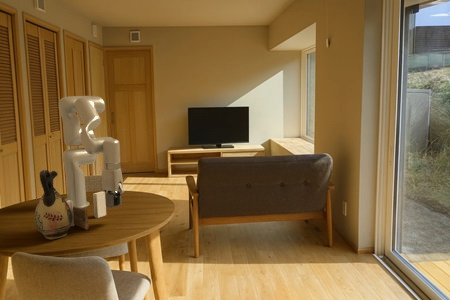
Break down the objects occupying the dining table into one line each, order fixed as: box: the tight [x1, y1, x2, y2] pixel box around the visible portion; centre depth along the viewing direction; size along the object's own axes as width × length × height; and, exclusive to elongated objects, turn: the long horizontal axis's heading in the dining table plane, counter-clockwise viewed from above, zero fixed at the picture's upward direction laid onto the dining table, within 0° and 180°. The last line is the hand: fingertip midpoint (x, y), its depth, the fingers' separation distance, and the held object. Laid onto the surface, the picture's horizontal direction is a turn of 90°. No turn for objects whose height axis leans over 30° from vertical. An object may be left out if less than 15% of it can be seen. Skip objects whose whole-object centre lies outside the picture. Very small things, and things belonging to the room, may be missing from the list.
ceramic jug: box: [33, 169, 73, 240], centre depth 186 cm, size 17×15×30 cm
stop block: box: [105, 192, 123, 209], centre depth 203 cm, size 4×6×6 cm, turn 146°
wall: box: [66, 190, 107, 227], centre depth 208 cm, size 3×24×12 cm, turn 146°
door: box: [73, 206, 89, 230], centre depth 199 cm, size 3×13×9 cm, turn 45°
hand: (113, 203), depth 203 cm, fingers closed on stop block, 4 cm apart
